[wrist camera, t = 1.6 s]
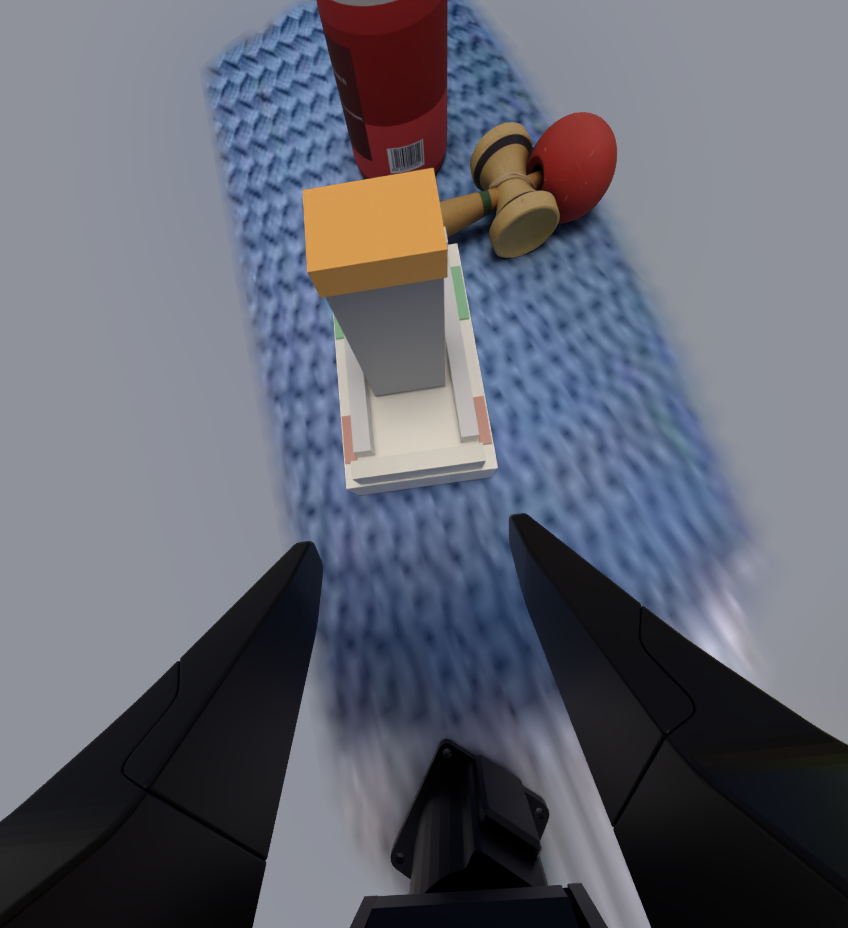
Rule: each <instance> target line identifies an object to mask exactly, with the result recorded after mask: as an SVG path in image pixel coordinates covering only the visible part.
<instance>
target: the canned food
mask: <svg viewBox="0 0 848 928" xmlns="http://www.w3.org/2000/svg"><path fill="white" fill-rule="evenodd" d="M317 5H318V10H319V14H320V18H321V22H322V27H323V31H324V35H325V39H326V43H327V47H328V51H329V55H330V59H331V63H332V67H333V71H334V75H335V79H336V83H337V88H338V92H339V96H340V100H341V104H342V108H343V112H344V116H345V120H346V124H347V128H348V132H349V136H350V140H351V144H352V149H353V153H354V157H355V161H356V163H357V165H358V167H359V169H360V171H361V173H362V175H363V176H364V177H365V179H371V178H377V177H383V176H388V175H394V174H400V173H406V172H412V171H418V170H423V169H429V168H434V173H435V174H436V172H437V171H438V170H439V168H440V166H441V165H442V162H443V159H444V155H445V151H446V147H447V0H317Z"/></svg>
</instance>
